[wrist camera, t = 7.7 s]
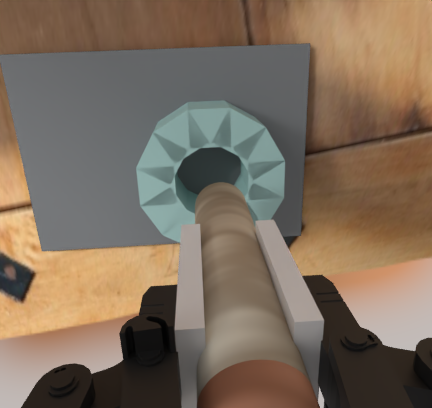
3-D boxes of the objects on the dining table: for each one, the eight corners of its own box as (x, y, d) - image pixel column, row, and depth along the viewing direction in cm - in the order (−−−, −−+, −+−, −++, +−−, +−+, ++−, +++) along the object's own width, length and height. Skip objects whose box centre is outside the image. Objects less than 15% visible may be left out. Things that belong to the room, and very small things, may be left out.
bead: (150, 228, 30) (145, 253, 26) (137, 104, 26) (129, 112, 23) (271, 221, 30) (282, 244, 26) (273, 98, 27) (286, 105, 23)
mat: (44, 247, 30) (42, 251, 30) (2, 54, 25) (-2, 54, 25) (298, 232, 31) (300, 235, 31) (307, 43, 26) (310, 43, 26)
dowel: (195, 230, 22) (198, 546, 8) (194, 182, 21) (196, 446, 7) (245, 229, 22) (337, 538, 8) (246, 181, 21) (355, 439, 7)
